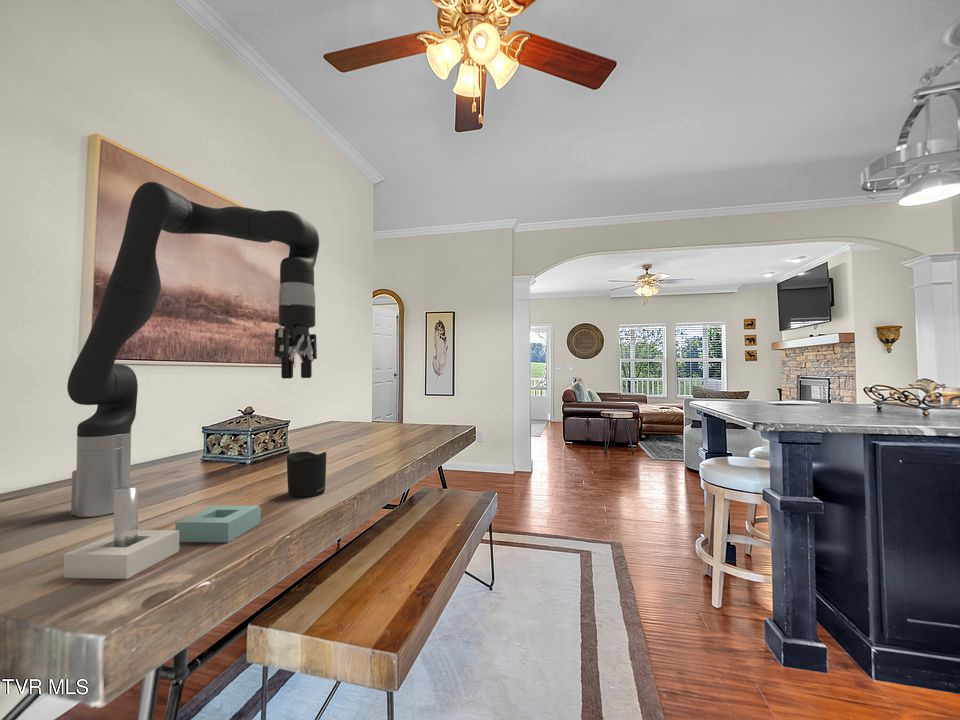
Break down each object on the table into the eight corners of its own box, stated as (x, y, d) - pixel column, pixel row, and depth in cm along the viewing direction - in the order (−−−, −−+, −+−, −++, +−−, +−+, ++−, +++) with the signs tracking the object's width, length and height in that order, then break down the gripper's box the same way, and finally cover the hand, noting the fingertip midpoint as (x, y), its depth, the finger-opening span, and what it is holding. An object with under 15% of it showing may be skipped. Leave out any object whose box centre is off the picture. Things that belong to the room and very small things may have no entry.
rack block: (175, 541, 77) (175, 522, 77) (213, 522, 87) (213, 505, 87) (228, 542, 76) (228, 522, 77) (260, 523, 86) (260, 505, 87)
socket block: (63, 577, 64) (64, 554, 64) (124, 550, 74) (124, 529, 74) (126, 578, 63) (127, 554, 63) (179, 551, 73) (179, 530, 73)
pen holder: (291, 501, 102) (291, 459, 102) (282, 492, 109) (283, 453, 110) (331, 494, 107) (331, 454, 108) (320, 486, 115) (320, 449, 115)
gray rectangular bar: (107, 567, 67) (109, 490, 67) (124, 559, 70) (126, 485, 70) (125, 568, 67) (127, 490, 67) (142, 559, 70) (143, 485, 70)
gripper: (296, 310, 102) (296, 378, 102) (262, 300, 88) (262, 378, 88) (327, 310, 102) (327, 377, 101) (297, 299, 88) (297, 378, 87)
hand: (297, 378), depth 94 cm, fingers open, 8 cm apart
